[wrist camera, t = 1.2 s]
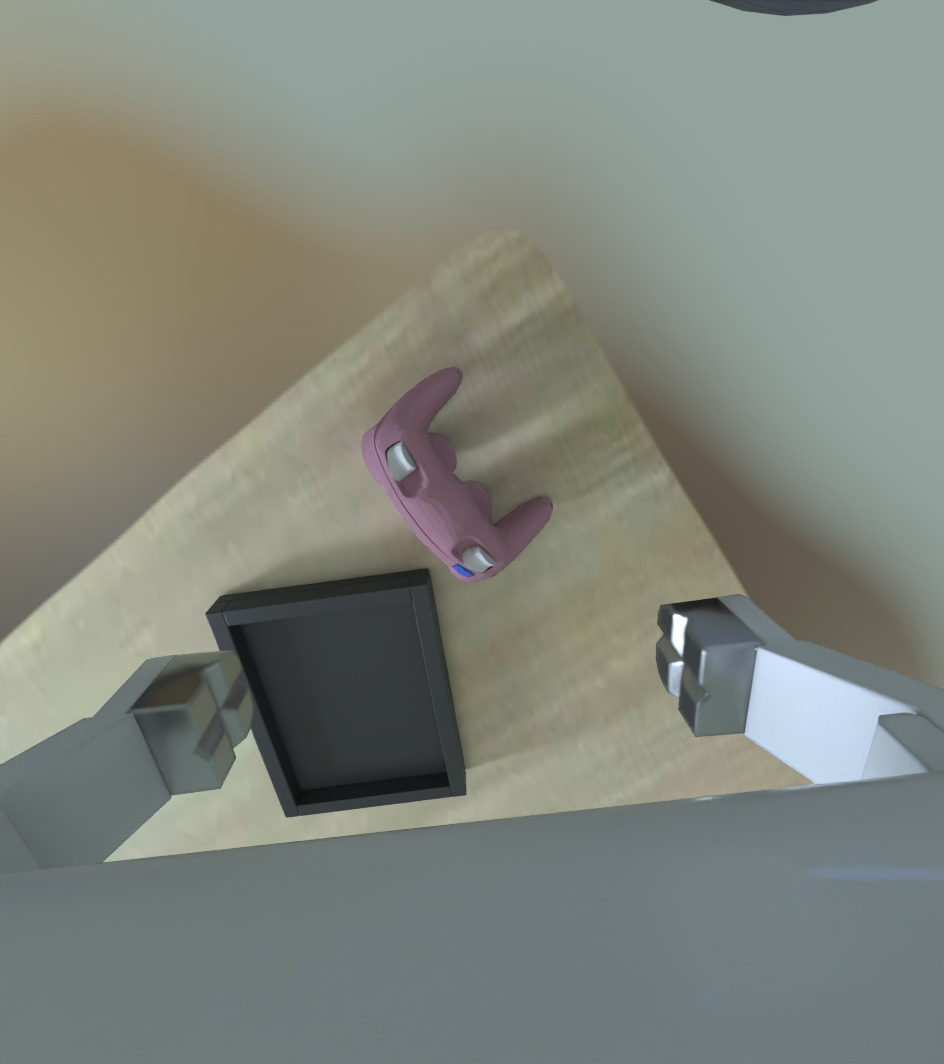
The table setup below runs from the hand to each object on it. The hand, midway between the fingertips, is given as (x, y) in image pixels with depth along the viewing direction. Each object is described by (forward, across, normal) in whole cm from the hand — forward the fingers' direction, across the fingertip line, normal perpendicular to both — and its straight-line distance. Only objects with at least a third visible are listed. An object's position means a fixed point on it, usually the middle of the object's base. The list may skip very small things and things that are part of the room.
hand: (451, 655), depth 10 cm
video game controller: (+18, -1, +1) cm, 18 cm away
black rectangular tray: (+18, +8, +15) cm, 25 cm away
